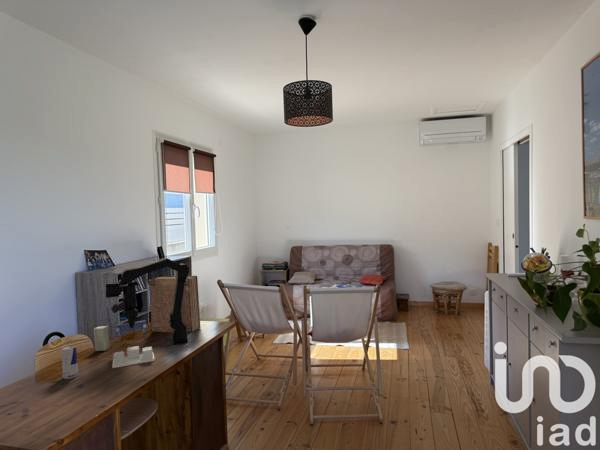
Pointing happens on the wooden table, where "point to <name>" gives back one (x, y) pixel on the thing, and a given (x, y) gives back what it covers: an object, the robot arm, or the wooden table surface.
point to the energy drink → (69, 362)
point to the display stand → (133, 357)
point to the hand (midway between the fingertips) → (131, 327)
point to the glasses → (126, 327)
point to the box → (101, 338)
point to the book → (164, 299)
